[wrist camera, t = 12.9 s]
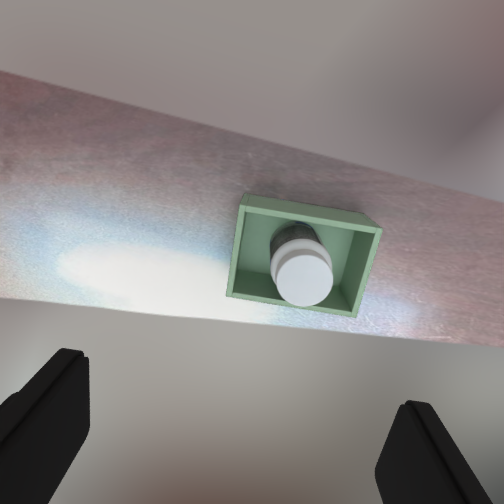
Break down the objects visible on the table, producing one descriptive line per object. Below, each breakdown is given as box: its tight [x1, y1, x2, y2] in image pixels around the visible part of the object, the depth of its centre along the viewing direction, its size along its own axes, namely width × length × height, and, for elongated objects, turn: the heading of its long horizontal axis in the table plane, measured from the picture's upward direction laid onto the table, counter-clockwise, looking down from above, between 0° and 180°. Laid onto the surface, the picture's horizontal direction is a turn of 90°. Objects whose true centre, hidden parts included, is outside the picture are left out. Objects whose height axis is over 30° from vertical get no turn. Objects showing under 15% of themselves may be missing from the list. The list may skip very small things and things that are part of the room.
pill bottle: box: [270, 221, 333, 307], centre depth 27 cm, size 5×5×8 cm
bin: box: [226, 193, 383, 318], centre depth 28 cm, size 11×8×6 cm
